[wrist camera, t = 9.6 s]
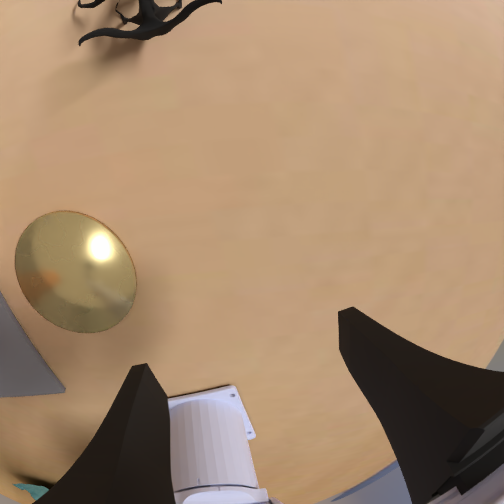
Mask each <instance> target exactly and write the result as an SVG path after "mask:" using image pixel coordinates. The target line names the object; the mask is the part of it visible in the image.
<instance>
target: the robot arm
mask: <svg viewBox="0 0 504 504" xmlns="http://www.w3.org/2000/svg"><path fill="white" fill-rule="evenodd" d="M338 323H339V350H340V353H341V355H342V357H343V359H344V361H345V364H346V366H347V368H348V370H349V372H350V373H351V375H352V377H353V378H354V380H355V381H356V383H357V385H358V386H359V388H360V389H361V391H362V393H363V394H364V396H365V397H366V399H367V400H368V402H369V404H370V405H371V407H372V408H373V410H374V412H375V413H376V415H377V417H378V418H379V420H380V422H381V424H382V426H383V428H384V431H385V433H386V435H387V437H388V439H389V442H390V444H391V446H392V449H393V451H394V453H395V456H396V458H397V461H398V463H399V466H400V468H401V471H402V473H403V476H404V479H405V482H406V485H407V488H408V491H409V494H410V497H411V501H412V504H504V372H499V371H492V370H487V369H482V368H478V367H474V366H470V365H466V364H463V363H460V362H457V361H453V360H450V359H448V358H445V357H442V356H440V355H437V354H435V353H433V352H430V351H428V350H426V349H424V348H421V347H419V346H417V345H415V344H414V343H412V342H410V341H408V340H406V339H404V338H402V337H401V336H399V335H397V334H396V333H394V332H392V331H391V330H389V329H387V328H386V327H384V326H382V325H381V324H379V323H378V322H376V321H375V320H373V319H371V318H370V317H368V316H367V315H365V314H364V313H362V312H361V311H359V310H358V309H356V308H354V307H350V308H347V309H344V310H341V311H338ZM255 437H256V434H255V432H254V429H253V427H252V425H251V422H250V420H249V418H248V415H247V413H246V411H245V408H244V406H243V403H242V401H241V398H240V396H239V394H238V391H237V389H236V387H235V386H232V385H230V386H225V387H221V388H217V389H212V390H208V391H204V392H199V393H194V394H189V395H184V396H179V397H174V398H169V399H168V397H167V395H166V393H165V392H164V390H163V389H162V387H161V386H160V384H159V382H158V381H157V379H156V378H155V376H154V374H153V373H152V371H151V369H150V368H149V366H148V364H147V363H145V364H140V365H135V366H132V367H131V369H130V371H129V373H128V375H127V377H126V379H125V380H124V382H123V384H122V386H121V388H120V390H119V392H118V394H117V396H116V398H115V400H114V402H113V404H112V406H111V408H110V410H109V412H108V413H107V415H106V417H105V419H104V421H103V422H102V424H101V426H100V427H99V429H98V431H97V433H96V434H95V436H94V437H93V439H92V440H91V442H90V443H89V445H88V446H87V448H86V449H85V450H84V452H83V453H82V454H81V456H80V457H79V458H78V459H77V461H76V462H75V463H74V464H73V465H72V467H71V468H70V469H69V470H68V471H67V473H66V474H65V475H64V476H63V477H62V478H61V479H60V480H59V481H58V482H57V483H56V484H55V485H54V486H53V487H52V488H51V489H50V490H48V491H47V492H46V493H45V494H44V495H42V496H41V497H40V498H39V499H38V500H36V501H35V502H34V503H32V504H283V503H282V502H280V501H279V500H278V499H277V498H274V497H271V498H268V495H267V491H266V489H265V488H262V489H259V486H258V482H257V478H256V474H255V469H254V465H253V461H252V457H251V453H250V448H249V444H248V440H250V439H253V438H255Z"/></svg>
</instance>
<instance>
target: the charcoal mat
mask: <svg viewBox="0 0 504 504" xmlns="http://www.w3.org/2000/svg"><path fill="white" fill-rule="evenodd" d="M65 389H66V388H65V387H64V386H63V385H62V383H61V382H60V381H59V380H58V378H57V377H56V376H55V375H54V373H53V372H52V371H51V369H50V368H49V367H48V365H47V364H46V363H45V361H44V360H43V358H42V357H41V356H40V354H39V353H38V351H37V350H36V349H35V347H34V346H33V344H32V343H31V341H30V340H29V338H28V337H27V335H26V334H25V332H24V331H23V329H22V328H21V326H20V324H19V323H18V321H17V319H16V318H15V316H14V315H13V313H12V311H11V309H10V308H9V306H8V304H7V303H6V301H5V299H4V297H3V295H2V294H1V292H0V397H19V396H34V395H46V394H57V393H65Z"/></svg>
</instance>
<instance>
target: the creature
mask: <svg viewBox="0 0 504 504" xmlns="http://www.w3.org/2000/svg"><path fill="white" fill-rule="evenodd" d="M104 1H105V0H95V1H94V2H92V3H89V4H81V2H80V0H79V1H78V7H81V8H94V7H96V6H98V5H99V4H101V3H102V2H104ZM119 1H120V0H119ZM213 2H220V3H221V4H222V0H195V1H193V2H191V3H189V4H188V5H187V6H186V7H185V8H184V9H183V10H182V11H181V12H180V13H179V14H178V15H177V16H176V17H175V18H173V19H172V20H170V21H167V22H162V21H163V20H164V19H165V18H166V17H167V16H168V14H169V13H170V12H171V11H172V10H173V9H175V8H176V7H177V8H182V0H179V2H178V3H176V4H175V5H174V6H171V7H159V6H157V5H156V3H155V2H154V0H139V13H138V14H137V15H136V16H134V17H132V18H129V19H128V18H125V17H124V16H123V15H122V14H121V13H120V12H118V11H117V10H115V11H116V12H117V13H119V14H120V16H121V18H122V21H123V23H124V24H127V22H132V23H135V24H138V25H140V26H139V27H138V28H137V29H136V30H133V31H124V30H119V29H114V28H102V29H98V30H95V31H92V32H90V33H88V34H86V35H84V36H83V37H82V38H81V39H80V40H79V46H80V45H81V43H82V42H83V41H85V40H88V39H90V38H94V37H98V36H109V37H115V38H133V39H138V40H149V39H151V38H153V37H155V36H160V35H164V34H166V33H168V32H170V31H171V30H172V29H173V28H174V27H175V26H176V25H178V24H179V23H181V22H182V21H184V20H185V19H186V18H187V17H188V16H189V15H190V14H191V13H192V12H193V11H195V10H196V9H197V8H199V7H201V6H203V5H205V4H208V3H213ZM117 5H118V3H117ZM117 5H116V8H117Z"/></svg>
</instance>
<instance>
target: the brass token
mask: <svg viewBox="0 0 504 504" xmlns="http://www.w3.org/2000/svg"><path fill="white" fill-rule="evenodd" d="M15 266H16V273H17V278H18V281H19V284H20V287H21V289H22V291H23V293H24V295H25V296H26V298H27V300H28V301H29V302H30V304H31V305H32V306H33V307H34V308H35V309H36V310H37V312H38V313H40V314H41V315H42V316H43V317H44V318H46V319H47V320H48V321H50V322H52V323H53V324H55V325H57V326H59V327H61V328H64V329H67V330H70V331H74V332H79V333H95V332H101V331H104V330H107V329H109V328H111V327H113V326H115V325H116V324H118V323H119V322H120V321H121V320H122V319H123V318H124V317H125V316H126V315H127V314H128V312H129V310H130V309H131V307H132V304H133V302H134V298H135V293H136V285H137V282H136V273H135V267H134V264H133V261H132V259H131V257H130V254H129V252H128V250H127V249H126V247H125V246H124V244H123V243H122V241H121V240H120V239H119V238H118V236H117V235H116V234H115V233H114V232H113V231H112V230H111V229H109V228H108V227H107V226H106V225H104V224H103V223H101V222H100V221H98V220H96V219H95V218H93V217H90V216H88V215H86V214H82V213H79V212H73V211H56V212H51V213H48V214H45V215H43V216H41V217H39V218H38V219H37V220H35V221H34V222H33V223H31V224H30V225H29V226H28V228H27V229H26V230H25V231H24V233H23V234H22V236H21V238H20V240H19V242H18V246H17V249H16V256H15Z"/></svg>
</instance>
